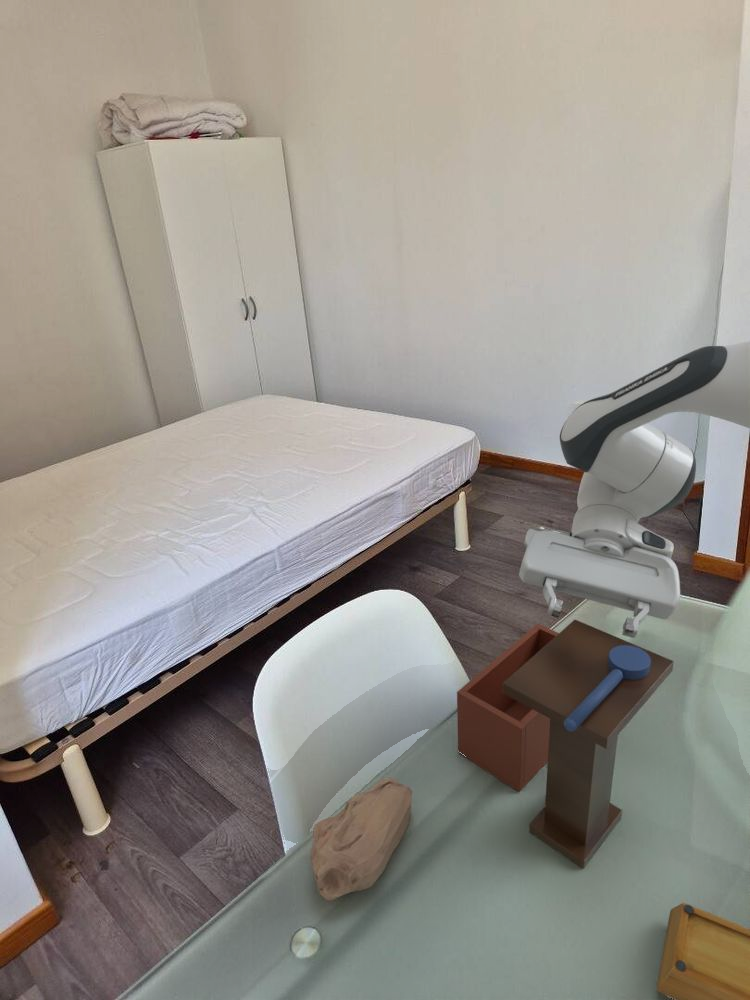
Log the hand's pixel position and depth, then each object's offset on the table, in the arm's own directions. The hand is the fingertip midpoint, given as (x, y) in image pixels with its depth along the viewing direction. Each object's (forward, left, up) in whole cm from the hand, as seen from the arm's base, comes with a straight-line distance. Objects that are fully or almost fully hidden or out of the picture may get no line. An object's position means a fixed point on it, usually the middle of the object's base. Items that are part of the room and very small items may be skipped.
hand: (591, 624), depth 86 cm
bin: (+5, -9, -27) cm, 29 cm away
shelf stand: (+2, +8, -27) cm, 28 cm away
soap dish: (-8, +28, -22) cm, 36 cm away
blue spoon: (+2, +11, -1) cm, 11 cm away
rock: (+27, +12, -24) cm, 38 cm away
